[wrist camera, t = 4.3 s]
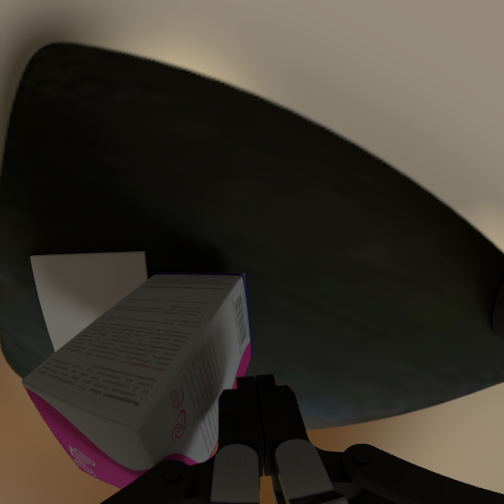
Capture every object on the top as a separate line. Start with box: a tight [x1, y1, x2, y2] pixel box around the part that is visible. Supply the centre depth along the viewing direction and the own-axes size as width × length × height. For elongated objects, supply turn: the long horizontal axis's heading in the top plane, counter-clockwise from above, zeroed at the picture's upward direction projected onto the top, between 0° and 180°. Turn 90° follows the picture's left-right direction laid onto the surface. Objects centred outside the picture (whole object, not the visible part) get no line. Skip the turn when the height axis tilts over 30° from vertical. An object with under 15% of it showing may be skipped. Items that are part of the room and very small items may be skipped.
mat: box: [30, 251, 148, 352], centre depth 18 cm, size 9×8×1 cm
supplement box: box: [22, 272, 252, 489], centre depth 13 cm, size 6×6×11 cm
